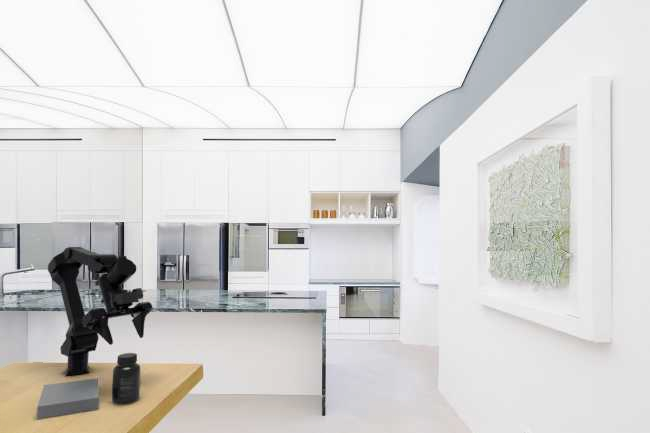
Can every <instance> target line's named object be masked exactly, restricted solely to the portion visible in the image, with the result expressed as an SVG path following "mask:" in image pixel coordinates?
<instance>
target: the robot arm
mask: <svg viewBox="0 0 650 433" xmlns="http://www.w3.org/2000/svg"><path fill="white" fill-rule="evenodd" d="M83 265H84V266H87V270H88V271H89V272H90V273H92V274H93V275H97V274H99V275H100V274H102V275H100V276H98V277H97V279H96V281H95V284H94V285H95V286H96V287H98V286H99V289H100V293H101V295H102V296H101V297H102V299H101V300H100V303H101V304H104V306H105V308H103V307H100V308H94V309H90V310H89V311H87V313H86V312H85V309H84V305H83V301H82V299H81V294H80V290H79V287H78V283H77V278H78V276H79V273H80V269H81V267H82V266H83ZM47 272H48V273H49V276H50V277H51V280H52V282H54V283H55V284H57V286H59V289H60V293H61V297H62V301H63V305H64V309H65V314H66V317H67V321H68V328H67V330H66V332H65V339H64V341H63V342H62V344H61V346H60V354H61V355H64V356H66V357H67V363H66V364H67V367H66V368H65V372H64V376H65V377H69V376H76V375H85V374H89V373H90V365H89V355H90V354H89V353H90V352H95V351H97V347H98V346H97V345H98V341H99V336H101V338H102V339H103V340H105V342H106V343H108V345H109V346H111V345H113V344H114V341H113V336H112V333H111V330H110V326H109V319H113V318H117V317H123V316H124V317H125V316H130V317H131V318H133V319H131V322H132V324H133V326H134V328H135V330H136V333H137V335H138V336H139V338H140V339H142V338H143V337H144V334H145V333H144V330H145V321H146V317H147V315H148V314H150V312H152V311H153V310H154V307H153V304H152V303H151V302H150V301H145V302H139V300H141V299H143V298H144V292H143V289H142V288H141V287H139V288H133V289H132V291H127V289H123V286H122V285H123V284H125V283H127V281H128V280H129V279H130V278H131V277H132V276H133V275H134V274H136V272H137V265H136V264H135V263H134V262H133V260H131V259H128V258H127V256H126V255H118V256H117V255H116V254H115V253H112V254H111V253H110V254H109V253H107V254H106V253H105V254H104V253H102V254H101V253H97V252H94V251H91V250H89V249H86V248H84V247H81V246H69V247H66V248H65V249H64V250H63V251H62V252H60V253H58V254H57V255H54V256H53V258H52V259H51V260H50V262H49V263H48V265H47ZM133 303H136V305H134V304H133ZM133 305H134V306H133ZM131 306H133V307H131ZM85 313H86V314H85Z"/></svg>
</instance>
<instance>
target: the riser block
mask: <svg viewBox="0 0 650 433" xmlns="http://www.w3.org/2000/svg"><path fill="white" fill-rule="evenodd" d="M99 384H100V383H99V378H98V377H97V378H96V377H95V378H89V379H81V380H80V379H79V380H72V381H65V382H58V383H50V384H49V383H48V384H43V387H42V391H41V394H40V398H39V400H38V404H37V407H36V408H37V410H36V420H42V419H48V418H54V417H59V416H66V415H72V414H77V413H78V414H79V413H83V412H84V413H85V412H90V411H97V410H99V409H100V407H99V406H100V404H99V402H100V401H99V400H100V392H99V390H100V389H99V388H100V387H99Z"/></svg>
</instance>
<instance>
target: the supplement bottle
mask: <svg viewBox="0 0 650 433" xmlns="http://www.w3.org/2000/svg"><path fill="white" fill-rule="evenodd" d="M137 362H138V354H137V353H135V352H134V353H133V352H125V353H122V354H119V355H118V356H117V361H116V363H117V365H116V366H115V367H114V368H113V369H112V383H111V386H112V387H111V402H112V403H113V404H115V405H128V404H133V403H135V402H136V401H137V400H139V399H140V393H141V388H140V387H141V365H140V364H139V363H137Z"/></svg>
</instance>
